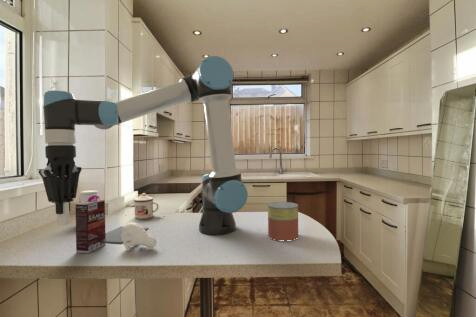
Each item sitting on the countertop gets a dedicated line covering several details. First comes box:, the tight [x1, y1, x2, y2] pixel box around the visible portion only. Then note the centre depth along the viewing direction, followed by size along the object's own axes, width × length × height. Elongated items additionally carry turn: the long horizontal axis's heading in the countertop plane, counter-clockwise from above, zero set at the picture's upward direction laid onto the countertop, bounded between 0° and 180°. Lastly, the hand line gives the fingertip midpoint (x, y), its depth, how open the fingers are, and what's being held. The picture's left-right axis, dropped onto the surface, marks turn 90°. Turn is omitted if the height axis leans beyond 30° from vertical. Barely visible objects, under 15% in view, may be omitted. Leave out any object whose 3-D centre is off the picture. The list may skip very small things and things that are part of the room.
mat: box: [105, 225, 149, 245], centre depth 105 cm, size 13×18×1 cm
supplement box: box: [75, 199, 107, 254], centre depth 91 cm, size 9×5×16 cm, turn 168°
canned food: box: [267, 201, 299, 241], centre depth 100 cm, size 11×11×12 cm
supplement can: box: [78, 189, 101, 204], centre depth 122 cm, size 8×8×15 cm
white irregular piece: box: [121, 222, 157, 252], centre depth 90 cm, size 6×8×12 cm
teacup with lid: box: [133, 192, 160, 220], centre depth 134 cm, size 12×9×12 cm
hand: (63, 224), depth 80 cm, fingers closed
